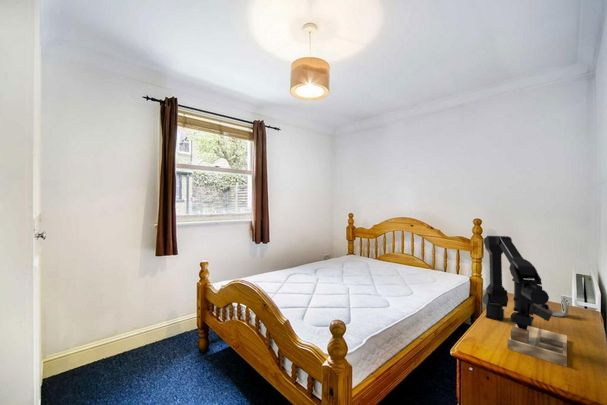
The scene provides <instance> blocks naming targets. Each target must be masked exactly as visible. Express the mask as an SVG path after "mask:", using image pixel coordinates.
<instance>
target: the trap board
mask: <svg viewBox="0 0 607 405" xmlns="http://www.w3.org/2000/svg"><path fill="white" fill-rule="evenodd" d="M514 327H518V326H517V324H516V323H515V325H514ZM527 330H529V342H528V344H525V343H522V342H518V341H515V340H511V336H510V337H509V338H507V350H509V351H514V352H517V353H521V354H524V355H527V356H530V357H533V358H536V359H540V360H543V361H546V362H550V363H553V364H556V365H561V366H562V367H563V366H564V367H567V366H568V363H567V362H568V359H567V358H568V357H567V356H568V355H567V354H568V353H567V352H568V351H567V350H568V348H567V347H568V346H567V345H568V342H567V341H568V338H567V336H568V335H566V334H562V333H560V332H559V333H557V332H553V331H549V330H546V329H543V328H542V329H541V328H538V327H534V326H528V327H527ZM567 368H568V367H567Z"/></svg>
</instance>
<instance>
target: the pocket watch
mask: <svg viewBox="0 0 607 405" xmlns="http://www.w3.org/2000/svg"><path fill="white" fill-rule="evenodd" d="M566 298H567V297H566V295H564V296H563V297H562V300H561V302H560V310H561V312H559V311H557V310H552V311H553V314H552V316H554V317H558V318H559V317H560V318H562V317H563V318H564V317H565V316H567V315H569V306H568V303H567V302H568V301H566ZM552 316H551V317H552Z"/></svg>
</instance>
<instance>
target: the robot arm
mask: <svg viewBox="0 0 607 405" xmlns="http://www.w3.org/2000/svg"><path fill="white" fill-rule="evenodd" d="M483 243H484V244H483V245H484V249H485V250H486V251H487V253H488V254H489V256H488V257H489V258H488V259H489V284H488V285H487V287H486V289H485V293H484V295H483V296H482V303H483V304H484V305H485V311H486V312H485V313H486V314H485V316H484V317H485V318H487V319H491V320H495V321H499V322H502V321H503V320H504V319H505V308H507V307H508V302H509V296H508V291H507V289H505V287H504V286H503V269H502V268H503V266H502V263H503V262H502V260H503V259H502V256H503V254H504V255H505V257H506V260H508V262H509V264H510V265H509V271H510V274H511V276H512V277H513V278H512V279H511V281H512V282H514V283H513V289H514V290H513V292H514V293H513V294H514V296H513V304H514V305H513V311H514V312H512V313H511V314H510V322H512V323H515V325H516V324H517V326H518V328H522V329H526V330H527V327H528V326H530V327H533V323H534V318H535V317H534V315H536V316H537V317H539V318H541V319H543V320H544V321H547V322H549V321H550V320H551V319H552V318H551V317H552V314H553V311H554V310H552V309H550V305H549V304H547V303H548V302H549V299H550V296H549V293H548V292H547V291H545V290H544V289H543V286H542V284H543V283H542V278H541V277H540V274H539V273H538V271H537V268H536V267H535V266H534V265H533V264H532V263H531V261H529V260H527V259H525V258H523V256H522V255H521V253H520V252H519V250H518V248H517V247H516V245H515V243H513V239H512V237H510V236H507V235H486V237H484V238H483Z"/></svg>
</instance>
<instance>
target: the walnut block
mask: <svg viewBox="0 0 607 405" xmlns="http://www.w3.org/2000/svg"><path fill="white" fill-rule="evenodd" d="M510 337H511V340H515V341H518V342H522V343H525V344H528V342H529V330H526V329H522V328H518V327H515V325H514V326H513V325H512V327H511V329H510Z"/></svg>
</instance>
